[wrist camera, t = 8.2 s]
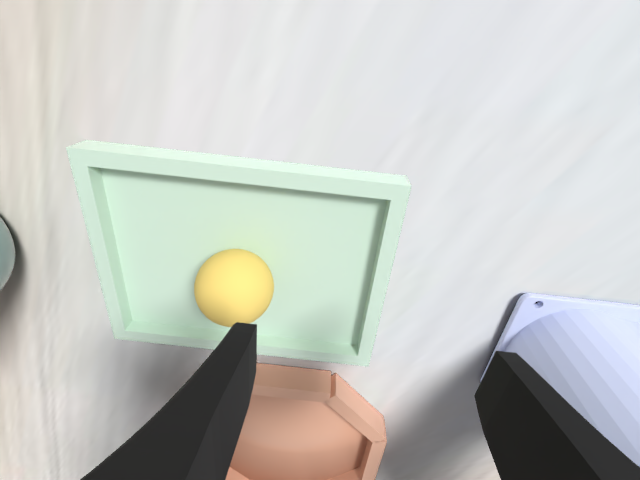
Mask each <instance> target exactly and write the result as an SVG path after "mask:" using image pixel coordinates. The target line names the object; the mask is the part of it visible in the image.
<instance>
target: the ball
mask: <svg viewBox="0 0 640 480" xmlns="http://www.w3.org/2000/svg"><path fill="white" fill-rule="evenodd" d="M273 293H274V281H273V276H272V273H271V271H270V269H269V267H268V266H267V264H266V263H265V262H264V261H263V260H262V259H261V258H260V257H259V256H258V255H256V254H254V253H252V252H250V251H247V250H243V249H228V250H223V251H221V252H218V253H216V254H214V255H213V256H211V257H210V258H209V259H207V260H206V261H205V262H204V264H203V265H202V266H201V268H200V269H199V271H198V273H197V276H196V279H195V283H194V295H195V300H196V303H197V305H198V307H199V309H200V310H201V312H202V313H203V314H204V315H205V316H206V317H207V318H208V319H209V320H211V321H212V322H214V323H216V324H218V325H221V326H226V327H232V326H233V324H235V323H236V322H240V323H249V324H250V323H252V322H254V321H255V320H257V319H258V318H259V317H260V316H262V314H263V313H264V312H265V311H266V310H267V308H268V307H269V305H270V303H271V300H272V297H273Z"/></svg>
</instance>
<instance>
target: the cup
mask: <svg viewBox="0 0 640 480" xmlns="http://www.w3.org/2000/svg"><path fill="white" fill-rule="evenodd" d="M15 260H16V257H15V245H14V241H13V237H12V235H11V233H10V231H9V229H8V227H7V226H6V224H5V223H4V221H3V220H2V219H1V217H0V291H1V290H2V289H3V288H4V286H5V285H6V283H7V282H8V280H9V278H10V276H11V274H12V272H13V269H14V265H15Z"/></svg>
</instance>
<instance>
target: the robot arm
mask: <svg viewBox="0 0 640 480" xmlns="http://www.w3.org/2000/svg"><path fill="white" fill-rule="evenodd" d="M537 301H539V302H538V303H536V304H534V303H535V302H537ZM256 358H257V324H249V323H240V322H236V323H235V324H233V326H232V327H231V328H230V330H229V331H228V333H227V334H226V335H225V337H224V338H223V339H222V341H221V342H220V343H219V345H218V346H217V347H216V348H215V350H214V351H213V352H212V353H211V355H210V356H209V357H208V358H207V359H206V361H205V362H204V363H203V364H202V365H201V366H200V368H199V369H198V370H197V371H196V372H195V373H194V375H193V376H192V377H191V378H190V379H189V380H188V381H187V382H186V384H185V385H184V386H183V387H182V388H181V389H180V390H179V391H178V392H177V393H176V394H175V395H174V396H173V397H172V398H171V399H170V400H169V401H168V402H167V403H166V405H165V406H164V407H163V408H162V409H161V410H160V411H158V412H157V413H156V414H155V415H154V416H153V417H152V418H151V419H150V420H149V421H148V422H147V423H146V424H145V425H144V426H143V427H142V428H141V429H140V430H138V431H137V432H136V433H135V434H134V435H133V436H132V437H131V438H130V439H129V440H127V441H126V442H125V443H124V444H123V445H122V446H120V447H119V448H118V449H117V450H116V451H115V452H113V453H112V454H111V455H110V456H109V457H108V458H106V459H105V460H104V461H103V462H102V463H100V464H99V465H98V466H97V467H96V468H94V469H93V470H92V471H91V472H89V473H88V474H87V475H86V476H84V477H83V478H82V479H81V480H225V479H226V476H227V473H228V470H229V467H230V464H231V461H232V457H233V454H234V451H235V448H236V445H237V442H238V439H239V436H240V433H241V430H242V426H243V423H244V420H245V417H246V414H247V411H248V407H249V404H250V399H251V395H252V390H253V385H254V380H255V376H256ZM475 400H476V404H477V409H478V413H479V417H480V421H481V425H482V429H483V432H484V435H485V438H486V440H487V443H488V446H489V449H490V451H491V454H492V457H493V459H494V462H495V465H496V467H497V470H498V473H499V475H500V478H501V480H640V305H634V304H625V303H616V302H607V301H598V300H589V299H580V298H571V297H562V296H553V295H544V294H535V293H526V294H523V295H522V296H520V298H519V299H518V301H517V303H516V306H515V308H514V310H513V312H512V314H511V316H510V318H509V320H508V322H507V325H506V327H505V329H504V331H503V333H502V335H501V337H500V339H499V341H498V344H497V346H496V348H495V350H494V352H493V354H492V356H491V358H490V360H489V363H488V365H487V367H486V369H485V371H484V373H483V375H482V377H481V379H480V385H479V387H478V389H477V391H476V394H475Z"/></svg>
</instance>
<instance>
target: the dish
mask: <svg viewBox="0 0 640 480" xmlns="http://www.w3.org/2000/svg"><path fill="white" fill-rule="evenodd" d="M386 444H387V438H386V430H385V422H384V419H383V415H382V414H380V413H379V412H378V411H377V410H376V409H375V408H374V407H373V406H372V405H371V404H369V403H368V402H367V401H366V400H365V399H364V398H363V397H362V396H361V395H360V394H358V393H357V392H356V391H355V390H354V389H353V388H352V387H351V386H350V385H349V384H347V383H346V382H345V381H344V380H343V379H342V378H341V377H340V376H339V375H338V374H336V373H335V374H333V375H331V371H326V370H317V369H308V368H299V367H290V366H280V365H271V364H262V363H256V376H255V380H254V385H253V390H252V395H251V399H250V404H249V407H248V411H247V414H246V417H245V420H244V423H243V426H242V430H241V433H240V436H239V439H238V442H237V445H236V448H235V451H234V454H233V457H232V461H231V464H230V467H229V470H228V473H227V476H226V479H225V480H375V478H376V475H377V472H378V468H379V465H380V462H381V459H382V456H383V453H384V450H385V447H386Z"/></svg>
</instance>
